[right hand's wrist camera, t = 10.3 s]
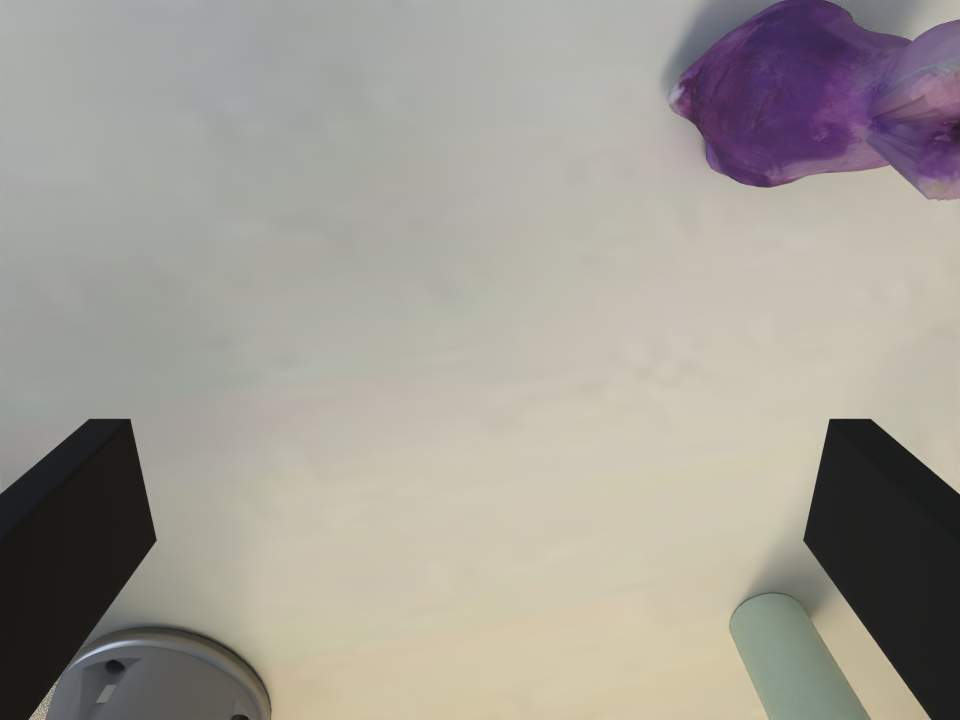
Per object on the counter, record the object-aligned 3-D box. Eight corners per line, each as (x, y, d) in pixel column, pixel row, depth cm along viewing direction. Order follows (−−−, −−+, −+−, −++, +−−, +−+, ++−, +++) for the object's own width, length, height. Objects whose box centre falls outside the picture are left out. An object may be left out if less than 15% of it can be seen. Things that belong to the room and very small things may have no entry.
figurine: (924, 86, 34) (1227, 88, 20) (757, 228, 37) (923, 315, 23) (818, -69, 32) (1080, -189, 18) (647, 96, 34) (758, 104, 20)
